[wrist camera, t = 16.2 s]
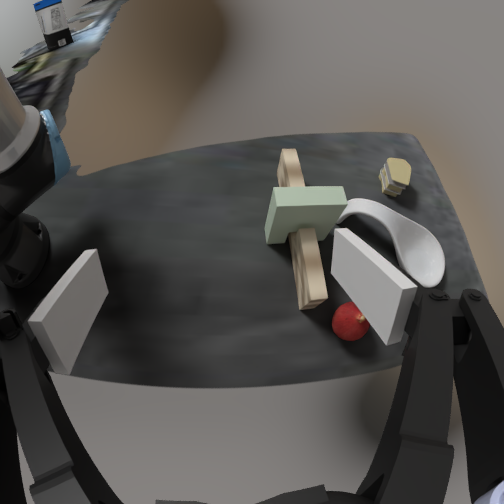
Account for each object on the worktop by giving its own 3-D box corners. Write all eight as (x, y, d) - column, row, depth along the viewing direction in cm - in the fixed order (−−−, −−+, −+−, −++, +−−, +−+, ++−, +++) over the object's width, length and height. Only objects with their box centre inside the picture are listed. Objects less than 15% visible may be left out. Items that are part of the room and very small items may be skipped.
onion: (334, 301, 44) (353, 288, 37) (363, 316, 43) (386, 306, 36) (319, 333, 42) (337, 326, 35) (349, 348, 41) (372, 344, 34)
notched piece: (266, 244, 47) (276, 206, 36) (264, 228, 48) (273, 187, 37) (323, 240, 48) (347, 204, 37) (320, 225, 49) (342, 186, 38)
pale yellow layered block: (407, 209, 53) (420, 195, 48) (371, 197, 53) (382, 182, 48) (403, 173, 56) (414, 159, 51) (369, 161, 57) (379, 146, 51)
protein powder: (66, 47, 78) (51, -2, 51) (41, 51, 80) (26, 8, 53) (80, 37, 82) (67, -11, 54) (54, 41, 84) (40, -1, 56)
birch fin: (314, 308, 43) (327, 298, 37) (299, 309, 43) (311, 300, 37) (289, 172, 53) (295, 148, 47) (276, 173, 53) (282, 148, 46)
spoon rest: (440, 253, 49) (460, 239, 42) (428, 303, 45) (451, 293, 38) (347, 194, 53) (361, 172, 46) (325, 240, 48) (338, 220, 42)
